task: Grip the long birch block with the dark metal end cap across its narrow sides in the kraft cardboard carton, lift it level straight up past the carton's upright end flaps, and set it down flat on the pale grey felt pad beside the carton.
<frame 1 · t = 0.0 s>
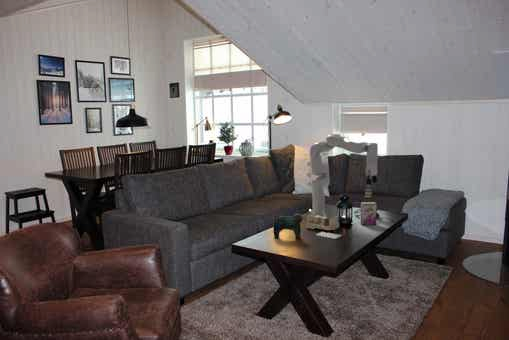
hand: (371, 183, 311), 31 cm above the table, tool pointing down, fingers open, 9 cm apart
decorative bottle: (368, 216, 339), on the table
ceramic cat: (288, 238, 288), on the table
candy bar box: (368, 224, 317), on the table
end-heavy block: (322, 222, 310), in the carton
felt pad: (328, 235, 292), on the table
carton: (322, 227, 311), on the table
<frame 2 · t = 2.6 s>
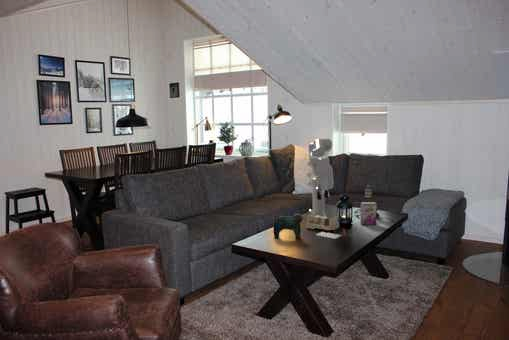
hand: (322, 198, 307), 22 cm above the table, tool pointing down, fingers open, 9 cm apart
nothing on the table moved.
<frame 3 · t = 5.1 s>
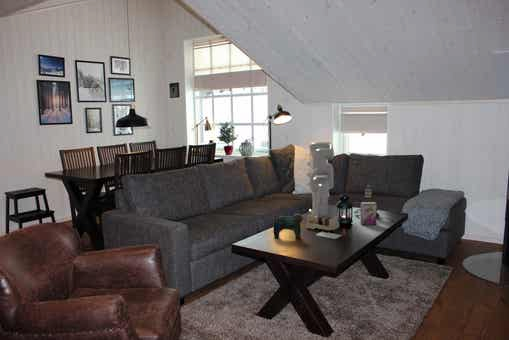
hand: (322, 225, 311), 2 cm above the table, tool pointing down, fingers closed on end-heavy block, 5 cm apart
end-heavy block: (322, 222, 310), in the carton, touching gripper
everything else where it was.
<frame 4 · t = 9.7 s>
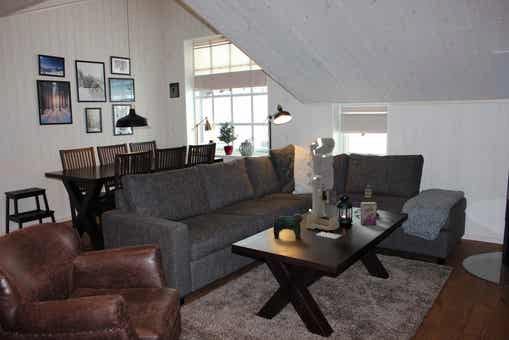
hand: (326, 199, 294), 24 cm above the table, tool pointing down, fingers closed on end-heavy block, 5 cm apart
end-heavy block: (326, 196, 294), point 26 cm above the table, touching gripper
everything else where it was.
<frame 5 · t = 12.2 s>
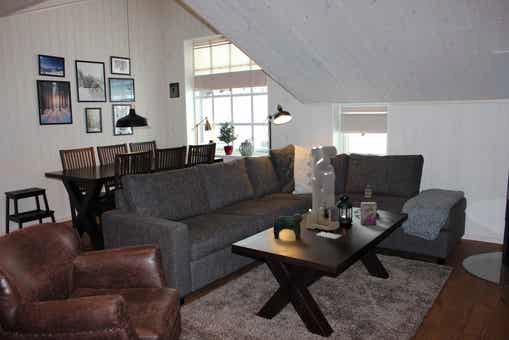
hand: (328, 217, 290), 13 cm above the table, tool pointing down, fingers closed on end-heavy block, 5 cm apart
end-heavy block: (328, 214, 290), point 15 cm above the table, touching gripper
everything else where it was.
when the fingers open (4 cm above the table, at t = 14.3 s): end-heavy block drops 1 cm, resting on felt pad.
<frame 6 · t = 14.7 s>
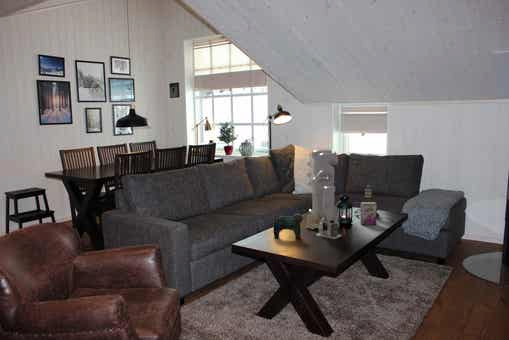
hand: (328, 228, 291), 5 cm above the table, tool pointing down, fingers open, 9 cm apart
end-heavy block: (328, 229, 291), on the felt pad
everything else where it was.
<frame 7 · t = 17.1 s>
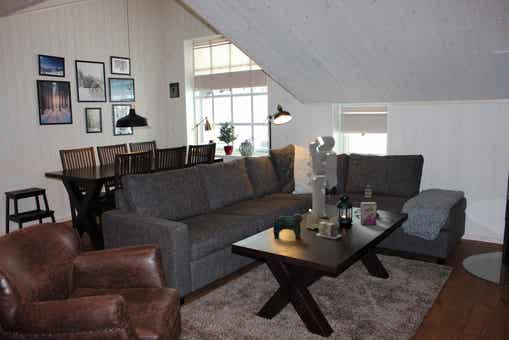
hand: (330, 194, 300), 26 cm above the table, tool pointing down, fingers open, 9 cm apart
nothing on the table moved.
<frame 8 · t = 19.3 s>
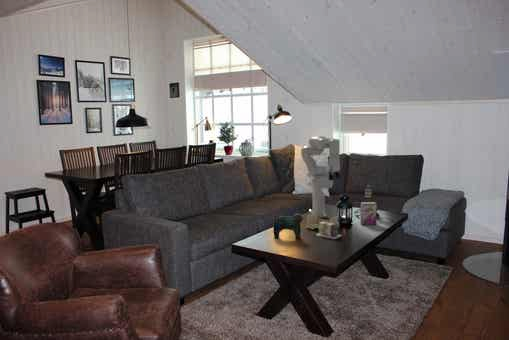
hand: (334, 179, 314), 34 cm above the table, tool pointing down, fingers open, 9 cm apart
nothing on the table moved.
at the end: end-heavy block inside the target area on the felt pad (0.1 cm from its centre), point 4.4 cm above the felt pad's base; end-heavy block tilted 0°; the gripper is holding nothing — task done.
